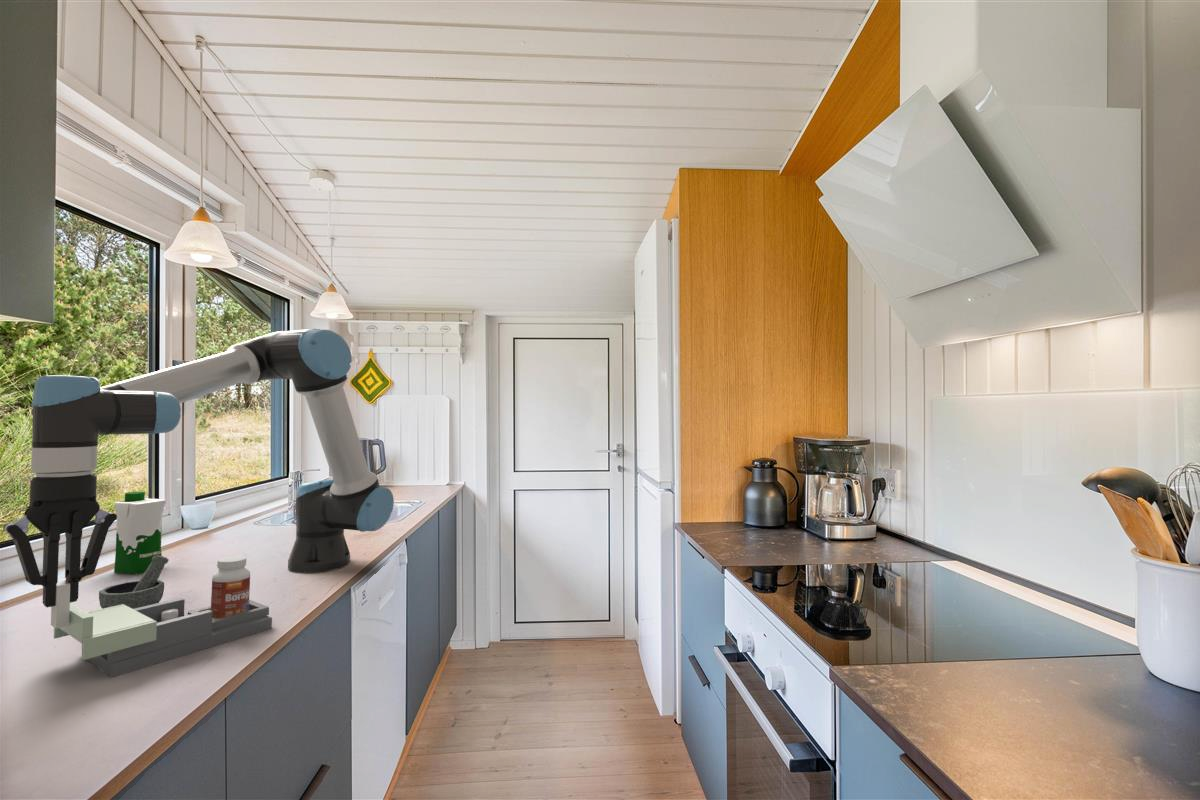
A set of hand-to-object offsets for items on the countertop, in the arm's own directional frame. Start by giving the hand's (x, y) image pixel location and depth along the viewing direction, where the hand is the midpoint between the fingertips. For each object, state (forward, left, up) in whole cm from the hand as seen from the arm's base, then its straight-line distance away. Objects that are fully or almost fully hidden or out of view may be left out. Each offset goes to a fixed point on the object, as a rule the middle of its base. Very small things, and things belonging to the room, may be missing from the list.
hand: (59, 625), depth 87 cm
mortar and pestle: (-15, -19, -8) cm, 26 cm away
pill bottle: (-24, 0, -6) cm, 25 cm away
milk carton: (-29, -62, -8) cm, 69 cm away
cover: (-5, 0, -4) cm, 7 cm away
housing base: (-16, 0, -8) cm, 18 cm away
